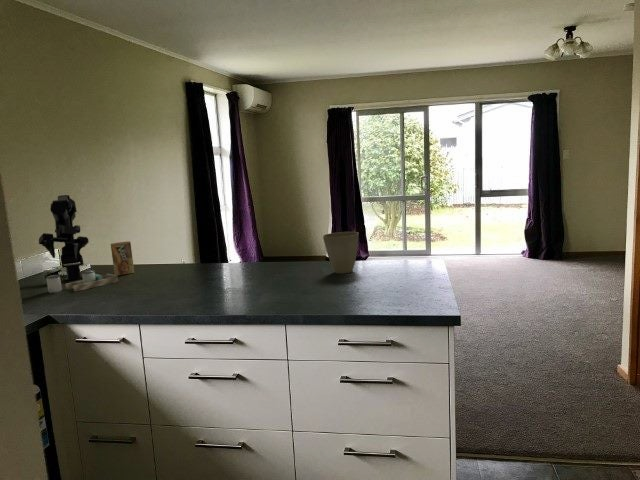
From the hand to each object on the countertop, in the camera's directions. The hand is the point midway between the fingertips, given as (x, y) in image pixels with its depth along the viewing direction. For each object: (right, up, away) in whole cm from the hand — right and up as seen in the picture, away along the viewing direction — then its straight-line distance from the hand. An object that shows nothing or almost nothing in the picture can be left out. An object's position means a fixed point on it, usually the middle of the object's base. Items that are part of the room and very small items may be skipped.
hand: (65, 258), depth 221 cm
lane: (+8, -12, +7) cm, 16 cm away
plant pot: (+118, -6, -3) cm, 118 cm away
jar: (-5, -14, +1) cm, 15 cm away
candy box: (+14, -9, +29) cm, 33 cm away
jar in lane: (+8, -12, +6) cm, 16 cm away
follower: (+10, -11, +9) cm, 17 cm away
